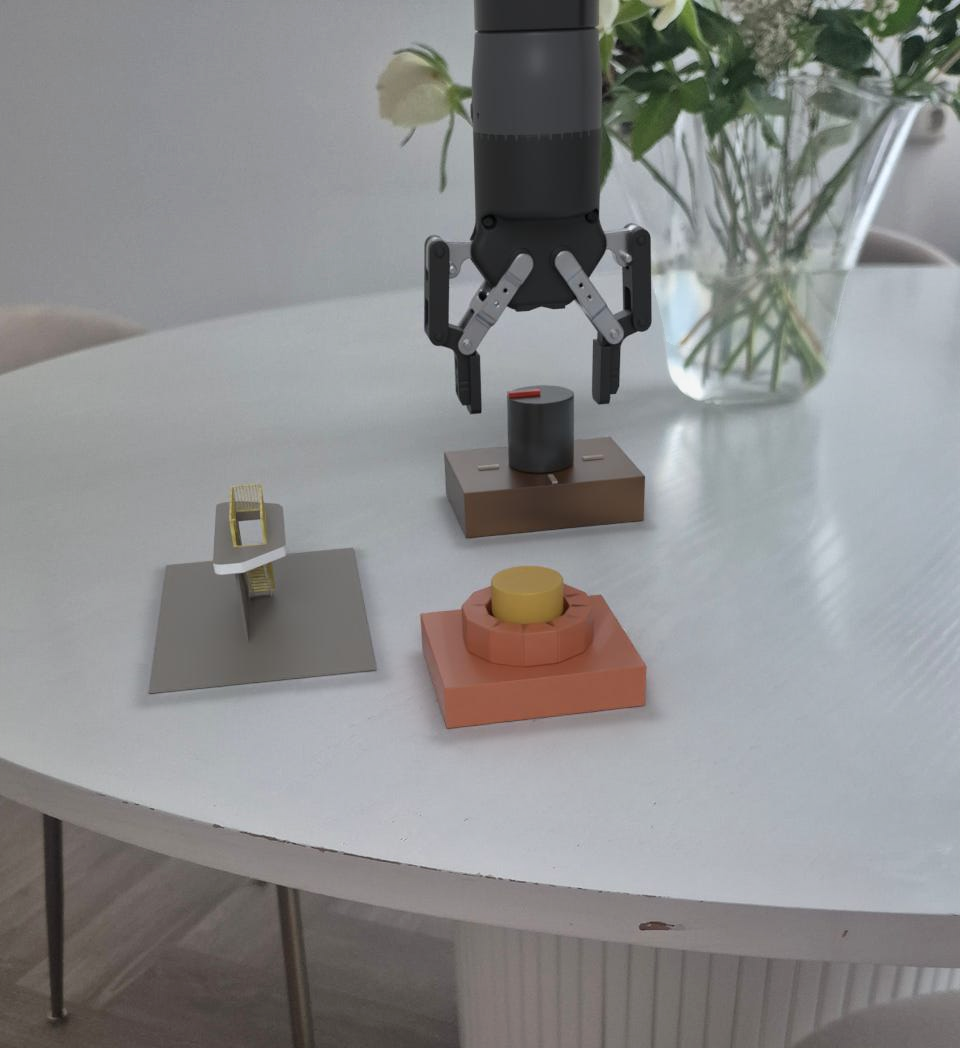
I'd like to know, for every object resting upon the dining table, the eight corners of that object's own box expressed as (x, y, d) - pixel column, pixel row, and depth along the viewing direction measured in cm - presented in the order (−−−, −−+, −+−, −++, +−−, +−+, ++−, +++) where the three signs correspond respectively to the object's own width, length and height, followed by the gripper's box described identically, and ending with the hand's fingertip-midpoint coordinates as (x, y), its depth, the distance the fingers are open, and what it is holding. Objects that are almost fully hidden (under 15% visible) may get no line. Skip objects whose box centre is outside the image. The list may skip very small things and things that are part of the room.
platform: (353, 547, 82) (342, 445, 78) (376, 669, 67) (365, 551, 63) (166, 565, 80) (146, 462, 77) (148, 693, 66) (123, 574, 62)
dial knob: (565, 450, 87) (565, 378, 84) (580, 469, 83) (580, 395, 81) (503, 455, 87) (501, 383, 84) (515, 475, 83) (513, 401, 80)
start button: (554, 594, 65) (554, 561, 64) (570, 622, 62) (570, 589, 61) (486, 601, 65) (485, 569, 64) (498, 630, 62) (497, 596, 61)
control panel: (609, 478, 91) (610, 434, 89) (643, 520, 84) (645, 473, 82) (446, 493, 90) (443, 449, 88) (466, 538, 82) (463, 490, 81)
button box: (600, 631, 70) (602, 562, 68) (645, 705, 63) (648, 631, 60) (422, 650, 69) (417, 581, 66) (446, 728, 61) (442, 654, 59)
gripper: (424, 134, 70) (439, 431, 79) (673, 121, 71) (659, 413, 81) (407, 123, 76) (423, 400, 85) (637, 111, 77) (627, 383, 87)
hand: (538, 406), depth 83 cm, fingers open, 8 cm apart
